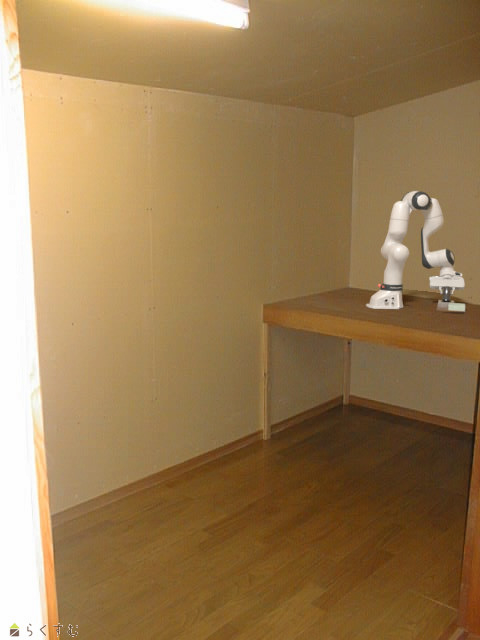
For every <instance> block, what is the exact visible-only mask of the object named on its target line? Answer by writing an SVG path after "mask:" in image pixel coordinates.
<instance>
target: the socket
mask: <svg viewBox="0 0 480 640" xmlns="http://www.w3.org/2000/svg"><path fill="white" fill-rule="evenodd" d="M449 303H455V300H451V299H450V302H443V299H438V301H437V304H438V307H448V306H449Z"/></svg>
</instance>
